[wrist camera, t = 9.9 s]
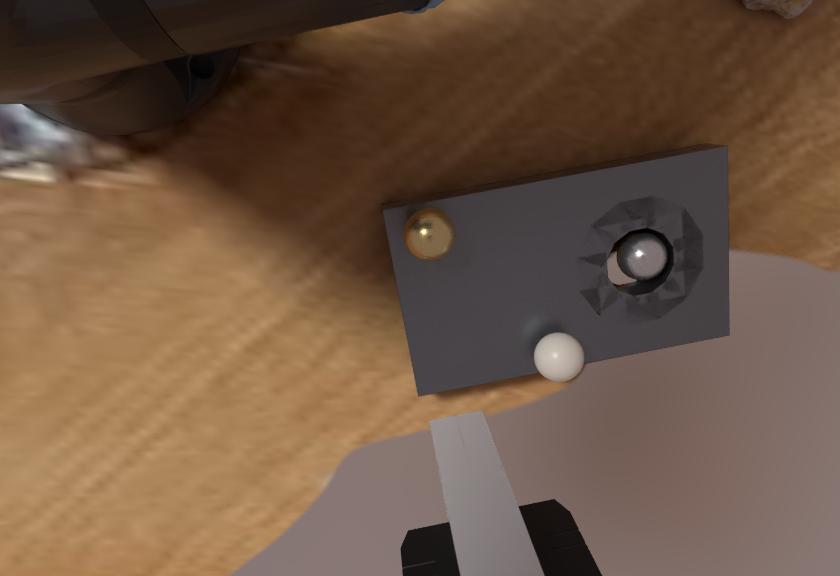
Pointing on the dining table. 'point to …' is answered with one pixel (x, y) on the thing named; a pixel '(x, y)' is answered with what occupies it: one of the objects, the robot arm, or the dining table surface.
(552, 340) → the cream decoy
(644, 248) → the steel ball
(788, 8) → the rock
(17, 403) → the dining table surface
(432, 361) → the plate
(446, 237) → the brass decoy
